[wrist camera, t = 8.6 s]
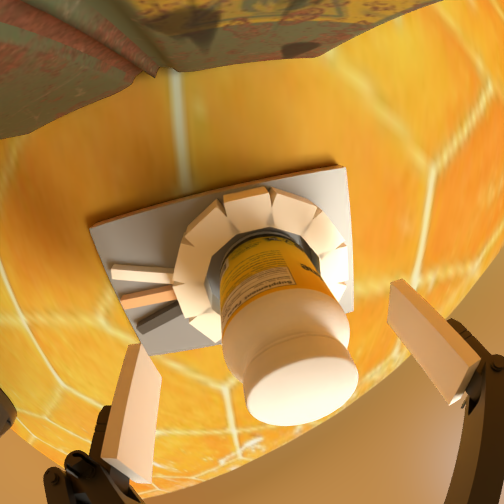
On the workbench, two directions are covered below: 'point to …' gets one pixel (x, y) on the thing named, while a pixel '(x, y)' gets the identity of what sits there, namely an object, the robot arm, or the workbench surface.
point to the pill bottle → (283, 332)
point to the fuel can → (155, 44)
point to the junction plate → (219, 250)
